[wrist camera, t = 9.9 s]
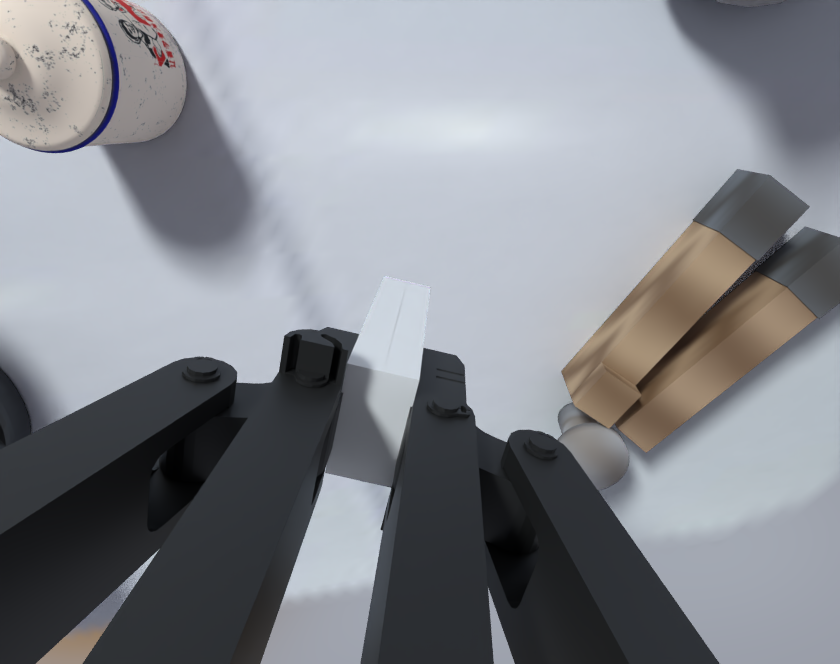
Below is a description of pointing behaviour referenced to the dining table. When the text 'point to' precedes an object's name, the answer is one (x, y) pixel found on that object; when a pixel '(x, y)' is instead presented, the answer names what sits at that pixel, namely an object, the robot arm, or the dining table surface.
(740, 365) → the tongs lower arm
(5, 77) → the teacup with lid
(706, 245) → the bar
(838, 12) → the dining table surface
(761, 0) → the coffee pot
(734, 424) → the dining table surface
